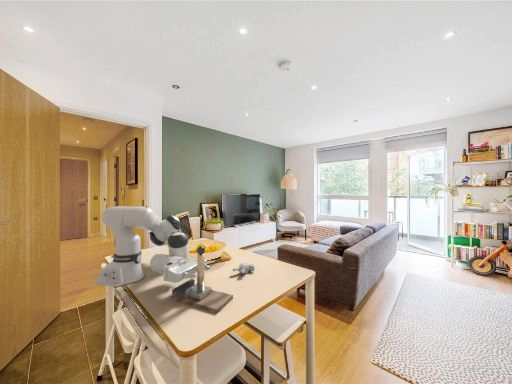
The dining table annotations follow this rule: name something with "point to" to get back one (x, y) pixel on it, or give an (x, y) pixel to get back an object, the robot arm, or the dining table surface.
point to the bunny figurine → (245, 268)
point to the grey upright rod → (199, 279)
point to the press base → (209, 302)
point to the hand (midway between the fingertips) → (202, 271)
